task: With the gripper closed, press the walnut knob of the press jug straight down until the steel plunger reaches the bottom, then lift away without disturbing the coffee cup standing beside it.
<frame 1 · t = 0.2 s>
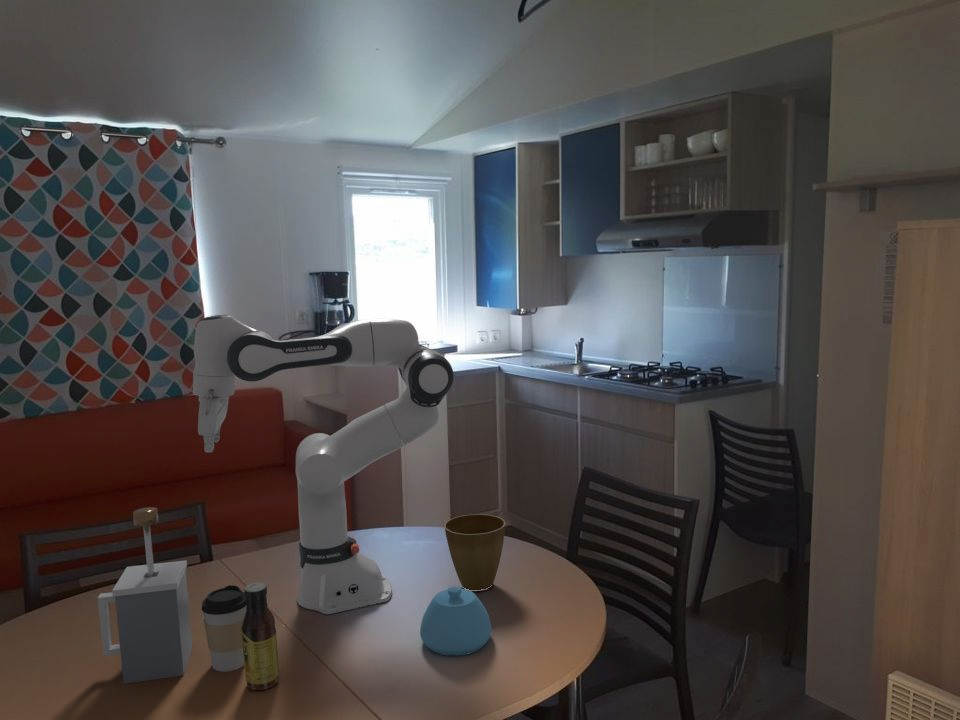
hand: (212, 446, 169), 39 cm above the table, tool pointing down, fingers open, 8 cm apart
coffee cup: (230, 663, 151), on the table
press jug: (159, 665, 151), on the table
sauce bottle: (262, 684, 143), on the table
plant pot: (476, 586, 183), on the table
press plunger: (150, 562, 148), point 22 cm above the table, slide at 8.0 cm
sugar bowl: (456, 641, 157), on the table
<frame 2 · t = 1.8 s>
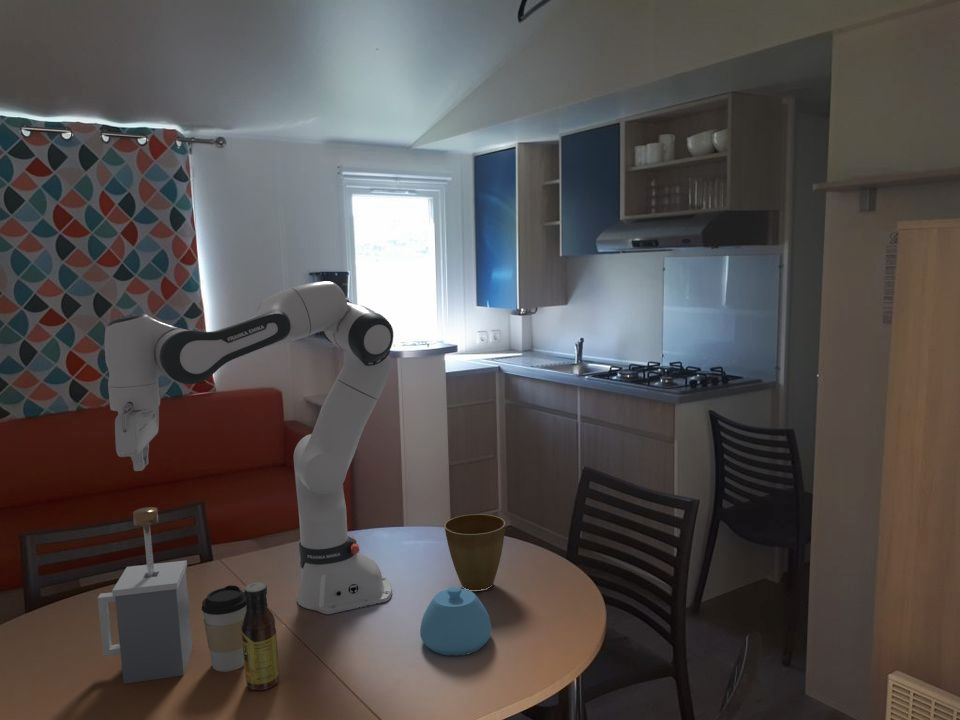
hand: (141, 468, 146), 41 cm above the table, tool pointing down, fingers closed
nothing on the table moved.
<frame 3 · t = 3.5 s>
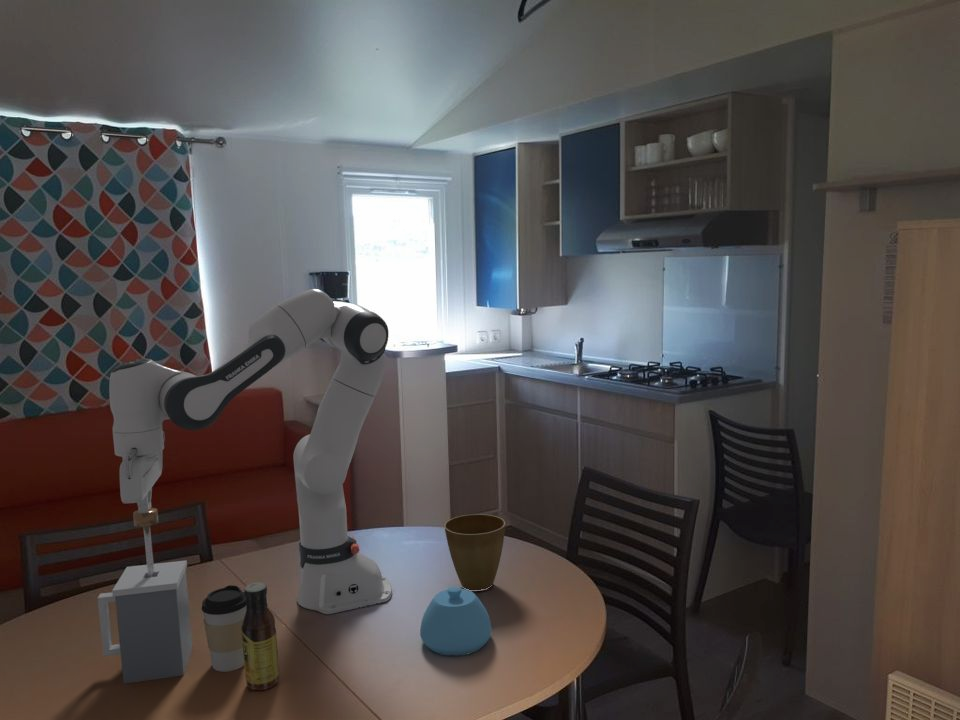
hand: (145, 511, 147), 32 cm above the table, tool pointing down, fingers closed, pressing on press plunger
press plunger: (150, 563, 148), point 22 cm above the table, slide at 7.9 cm, touching gripper
everything else where it was.
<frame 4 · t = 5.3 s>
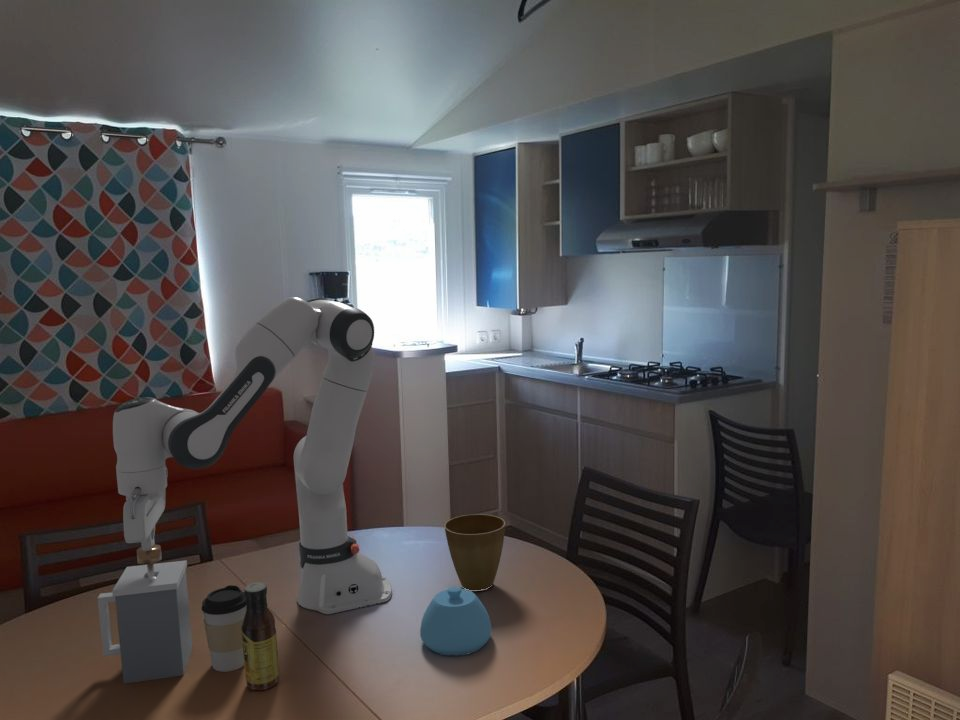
hand: (148, 548, 148), 25 cm above the table, tool pointing down, fingers closed, pressing on press plunger
press plunger: (153, 599, 149), point 14 cm above the table, slide at 0.2 cm, touching gripper
everything else where it was.
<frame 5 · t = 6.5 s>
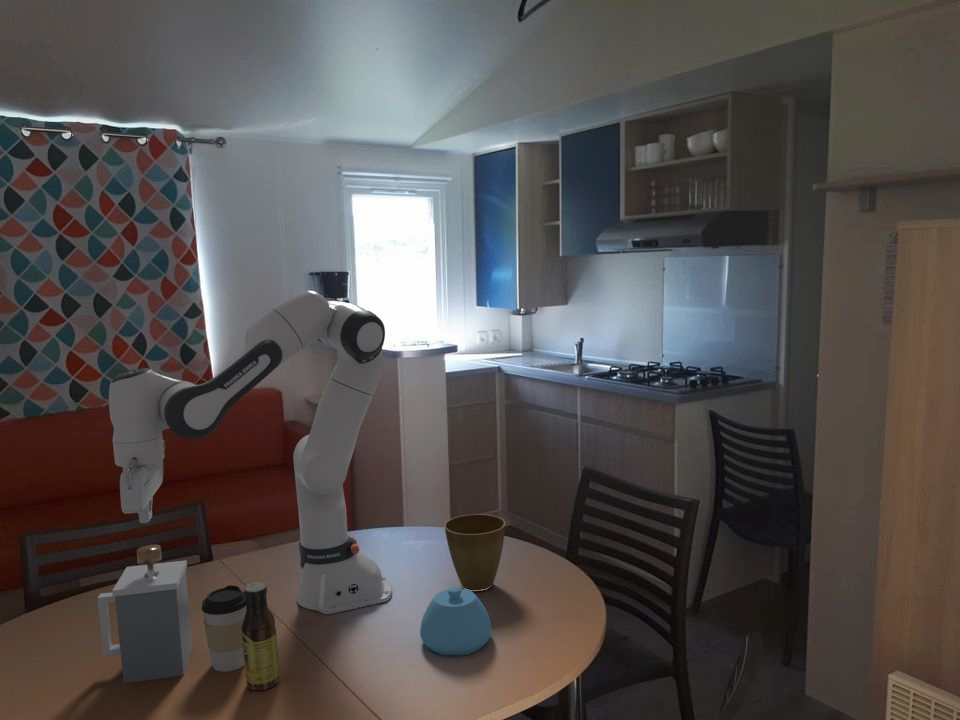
hand: (146, 520, 147), 30 cm above the table, tool pointing down, fingers closed
press plunger: (153, 599, 149), point 14 cm above the table, slide at 0.2 cm
everything else where it was.
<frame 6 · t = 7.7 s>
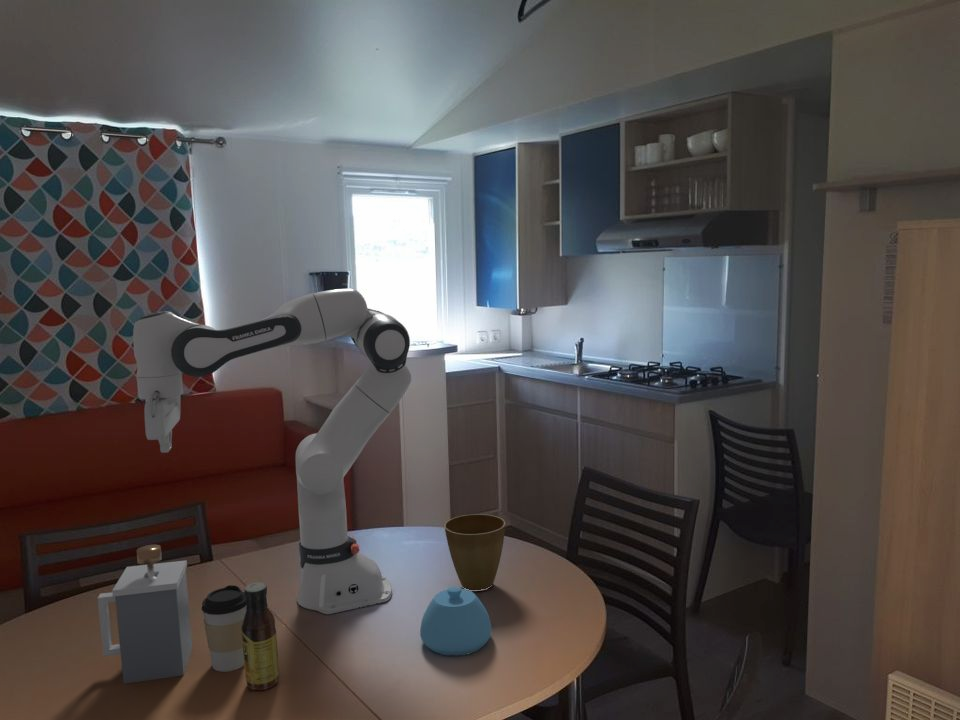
hand: (166, 451, 161), 41 cm above the table, tool pointing down, fingers closed
nothing on the table moved.
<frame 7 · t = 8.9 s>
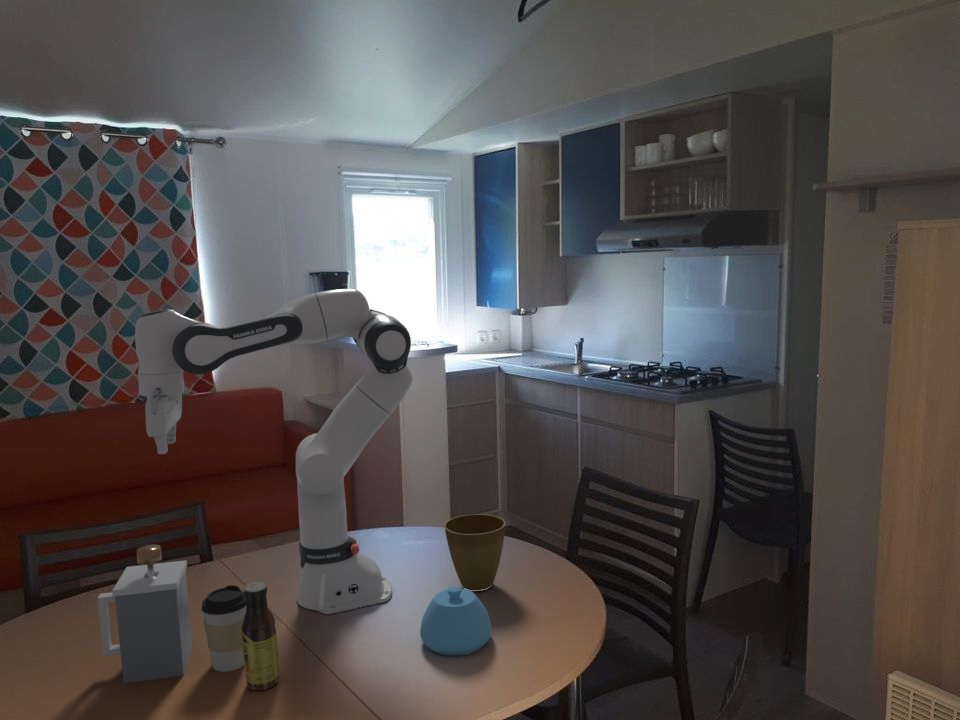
hand: (167, 448, 162), 41 cm above the table, tool pointing down, fingers open, 8 cm apart
nothing on the table moved.
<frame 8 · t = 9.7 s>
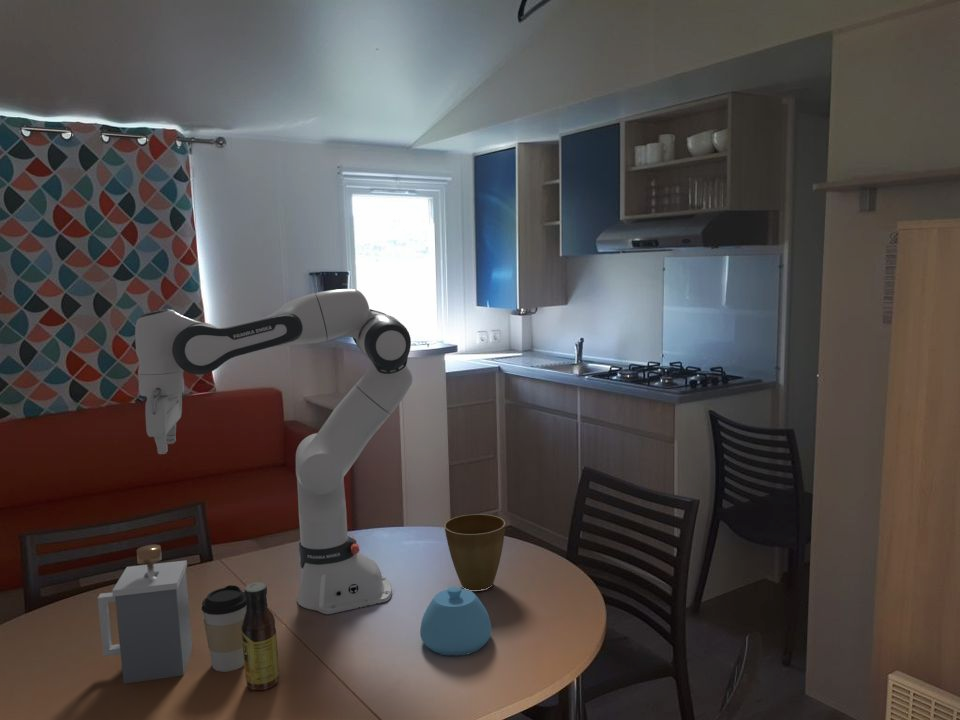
hand: (167, 448, 162), 41 cm above the table, tool pointing down, fingers open, 8 cm apart
nothing on the table moved.
at the end: press plunger slide at 0.2 cm; coffee cup moved 0.2 cm from its start; the gripper is holding nothing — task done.
